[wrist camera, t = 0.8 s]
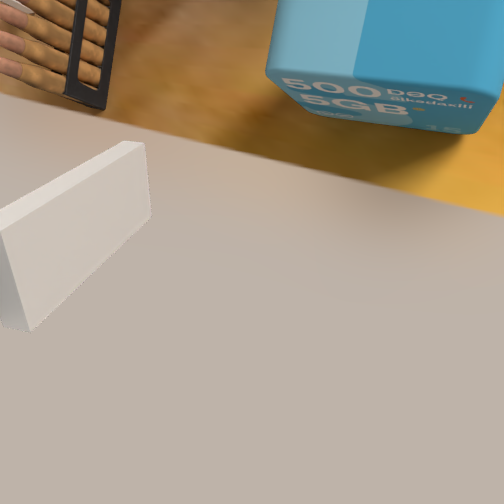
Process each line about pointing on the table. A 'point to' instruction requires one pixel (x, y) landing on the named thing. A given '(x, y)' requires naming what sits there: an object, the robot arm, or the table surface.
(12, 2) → the eraser
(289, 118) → the table surface
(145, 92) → the table surface
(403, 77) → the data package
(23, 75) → the ammunition clip
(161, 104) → the table surface
